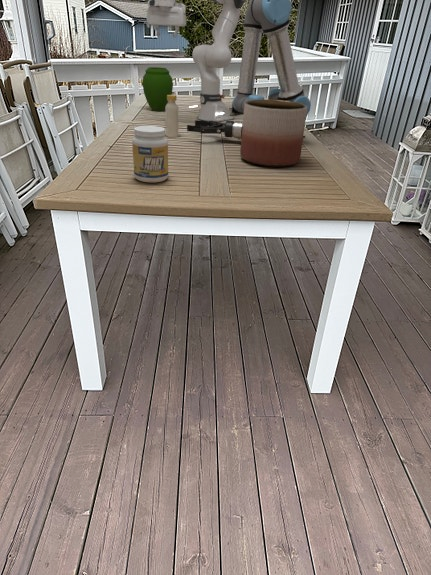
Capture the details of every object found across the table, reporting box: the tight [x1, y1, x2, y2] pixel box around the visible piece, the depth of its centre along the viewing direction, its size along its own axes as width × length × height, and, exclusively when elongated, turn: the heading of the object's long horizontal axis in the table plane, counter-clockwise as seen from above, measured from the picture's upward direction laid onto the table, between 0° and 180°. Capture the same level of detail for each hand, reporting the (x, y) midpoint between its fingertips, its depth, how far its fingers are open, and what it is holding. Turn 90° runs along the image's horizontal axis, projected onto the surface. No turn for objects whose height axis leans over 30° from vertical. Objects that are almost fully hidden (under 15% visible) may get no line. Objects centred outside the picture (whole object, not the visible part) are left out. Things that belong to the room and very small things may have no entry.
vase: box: [141, 66, 174, 112], centre depth 261 cm, size 20×20×24 cm
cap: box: [167, 94, 177, 102], centre depth 197 cm, size 4×4×2 cm
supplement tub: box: [131, 125, 169, 183], centre depth 142 cm, size 12×12×17 cm
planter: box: [240, 99, 307, 168], centre depth 169 cm, size 25×25×22 cm
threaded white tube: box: [164, 101, 179, 138], centre depth 202 cm, size 6×6×18 cm
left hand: (166, 36), depth 202 cm, fingers open, 8 cm apart
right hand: (191, 125), depth 200 cm, fingers open, 13 cm apart
